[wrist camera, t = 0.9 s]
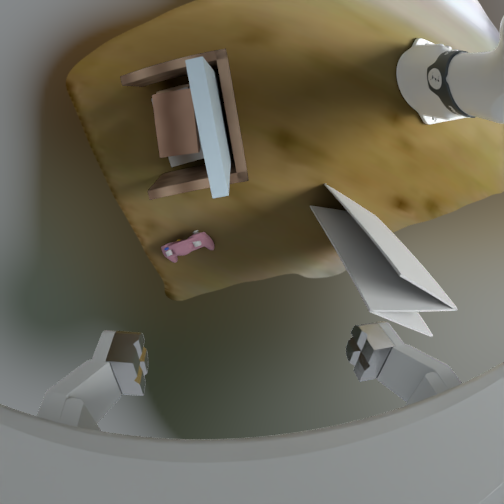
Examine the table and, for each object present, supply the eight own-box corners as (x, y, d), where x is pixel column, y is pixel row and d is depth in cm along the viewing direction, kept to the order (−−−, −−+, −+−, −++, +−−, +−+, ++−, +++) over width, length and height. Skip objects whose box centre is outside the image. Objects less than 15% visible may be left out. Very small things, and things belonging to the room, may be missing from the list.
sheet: (218, 76, 41) (202, 56, 21) (231, 151, 48) (228, 195, 28) (208, 77, 41) (185, 60, 21) (222, 152, 49) (212, 198, 28)
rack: (227, 58, 40) (225, 48, 31) (246, 165, 50) (248, 180, 41) (141, 79, 40) (120, 76, 32) (164, 181, 50) (149, 199, 42)
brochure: (309, 206, 55) (368, 311, 29) (324, 183, 52) (400, 273, 27) (361, 236, 59) (431, 337, 33) (376, 216, 56) (457, 308, 31)
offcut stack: (198, 83, 42) (190, 80, 35) (211, 152, 49) (207, 163, 41) (159, 92, 42) (145, 92, 35) (174, 160, 49) (163, 172, 41)
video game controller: (210, 227, 58) (201, 227, 51) (217, 248, 58) (209, 251, 51) (167, 242, 59) (154, 244, 52) (174, 262, 59) (161, 267, 52)
